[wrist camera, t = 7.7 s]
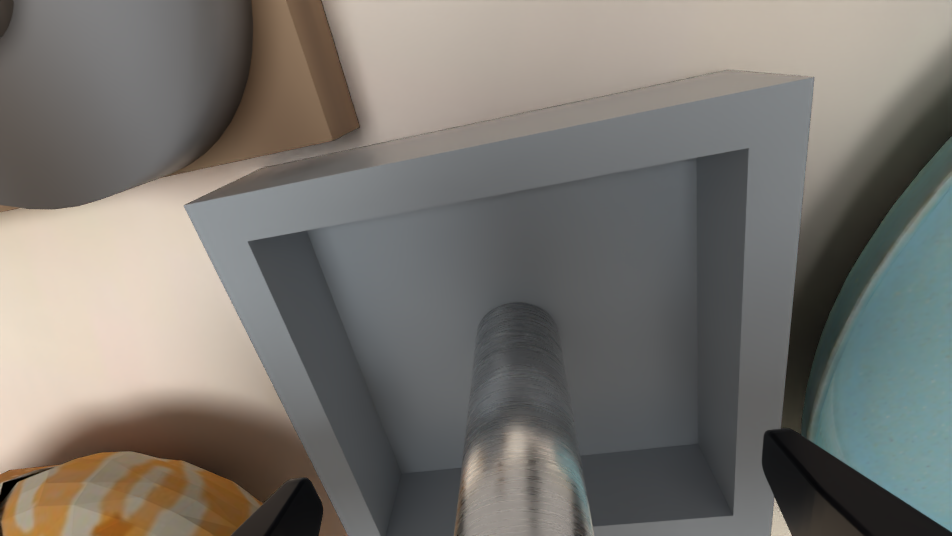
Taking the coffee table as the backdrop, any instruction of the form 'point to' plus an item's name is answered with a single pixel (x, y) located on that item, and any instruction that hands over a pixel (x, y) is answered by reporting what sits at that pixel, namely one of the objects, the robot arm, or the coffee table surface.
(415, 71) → the coffee table surface
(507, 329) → the lock pin
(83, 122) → the pulley block
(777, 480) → the robot arm
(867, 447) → the teal round plate
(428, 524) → the tray
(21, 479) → the nautilus
